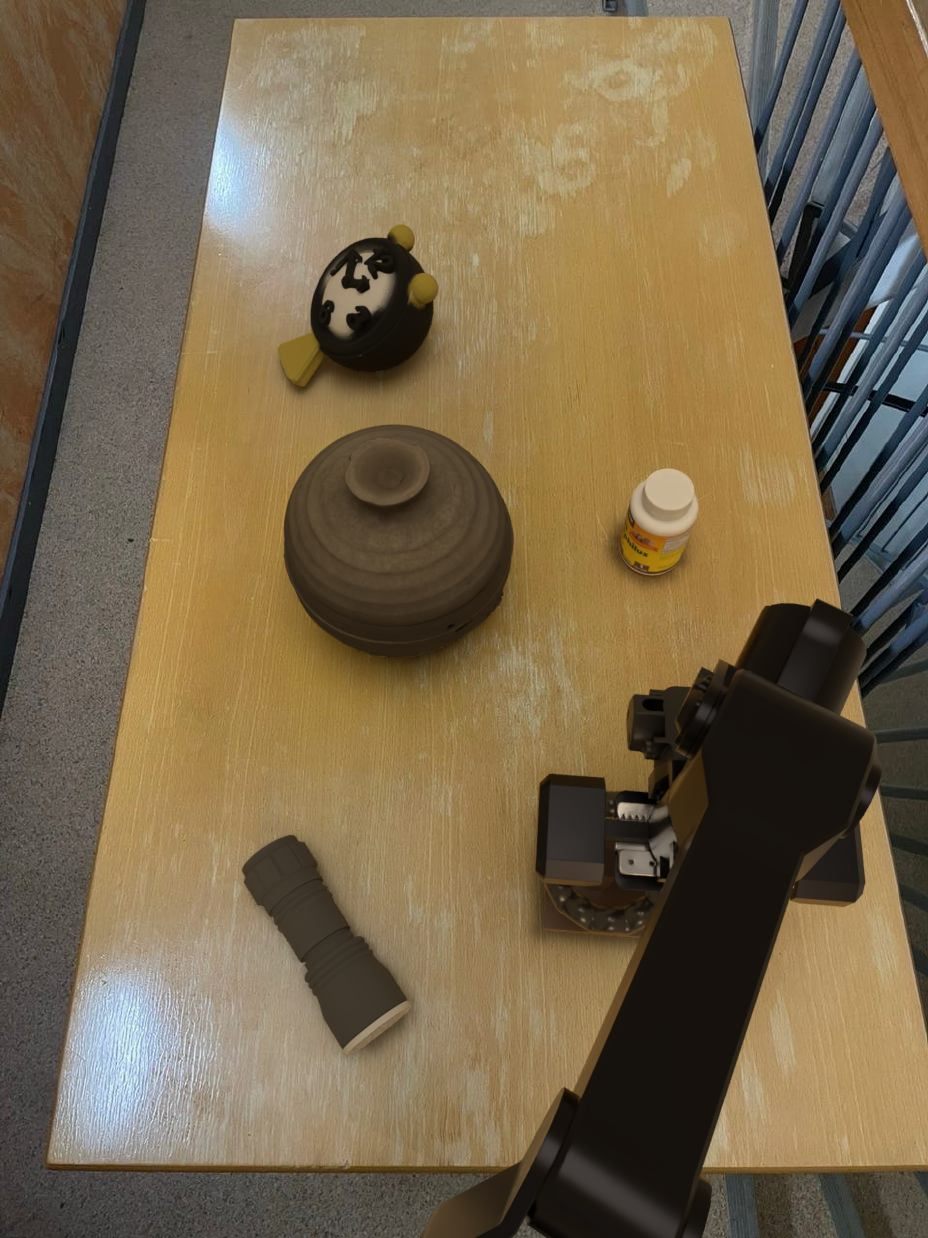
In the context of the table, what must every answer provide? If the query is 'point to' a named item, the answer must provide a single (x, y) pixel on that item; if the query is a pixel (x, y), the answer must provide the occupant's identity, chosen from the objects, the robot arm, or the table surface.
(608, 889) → the rack
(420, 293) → the alarm clock
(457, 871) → the table surface
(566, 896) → the studded brown bangle
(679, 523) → the supplement bottle
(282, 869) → the flashlight
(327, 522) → the pot
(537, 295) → the table surface
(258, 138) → the table surface
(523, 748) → the table surface
